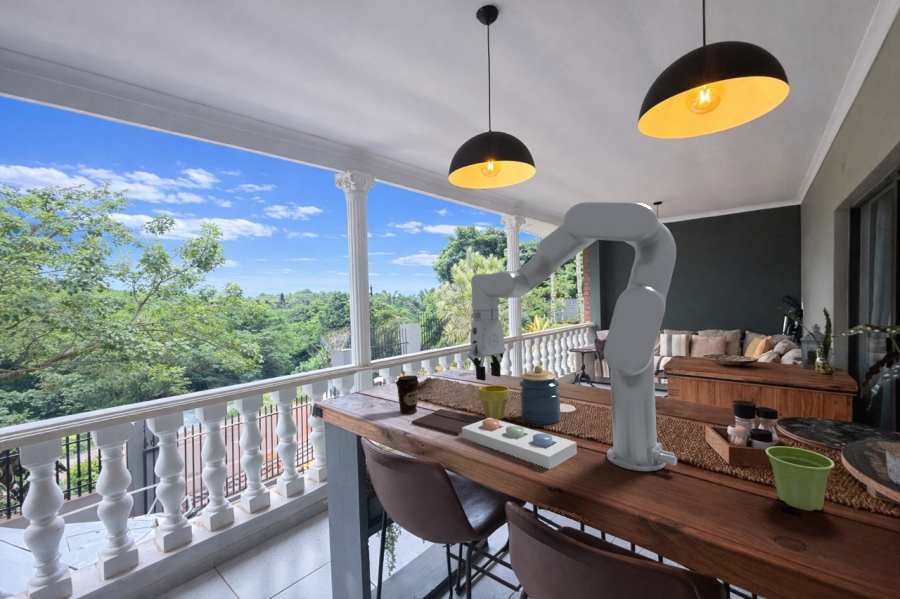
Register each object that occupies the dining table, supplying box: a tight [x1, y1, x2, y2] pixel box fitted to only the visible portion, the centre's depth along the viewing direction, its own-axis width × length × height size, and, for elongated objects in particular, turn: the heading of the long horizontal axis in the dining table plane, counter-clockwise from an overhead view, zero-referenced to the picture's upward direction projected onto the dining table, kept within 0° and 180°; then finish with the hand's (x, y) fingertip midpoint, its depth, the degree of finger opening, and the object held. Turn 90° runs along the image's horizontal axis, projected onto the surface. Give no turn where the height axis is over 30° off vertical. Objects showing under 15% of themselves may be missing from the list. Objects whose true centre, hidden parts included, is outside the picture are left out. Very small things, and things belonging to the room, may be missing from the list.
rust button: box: [482, 418, 499, 432], centre depth 109 cm, size 5×5×3 cm
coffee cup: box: [395, 374, 419, 415], centre depth 138 cm, size 9×8×13 cm
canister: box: [518, 365, 562, 425], centre depth 124 cm, size 13×13×18 cm
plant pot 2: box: [765, 445, 835, 511], centre depth 70 cm, size 9×9×9 cm
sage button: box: [506, 425, 525, 440], centre depth 103 cm, size 5×5×3 cm
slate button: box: [533, 433, 552, 449], centre depth 96 cm, size 5×5×3 cm
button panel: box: [461, 418, 578, 470], centre depth 103 cm, size 30×12×3 cm, turn 41°
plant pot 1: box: [478, 384, 510, 420], centre depth 128 cm, size 10×10×10 cm
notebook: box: [411, 408, 487, 437], centre depth 124 cm, size 15×20×2 cm
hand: (488, 377), depth 109 cm, fingers open, 5 cm apart
